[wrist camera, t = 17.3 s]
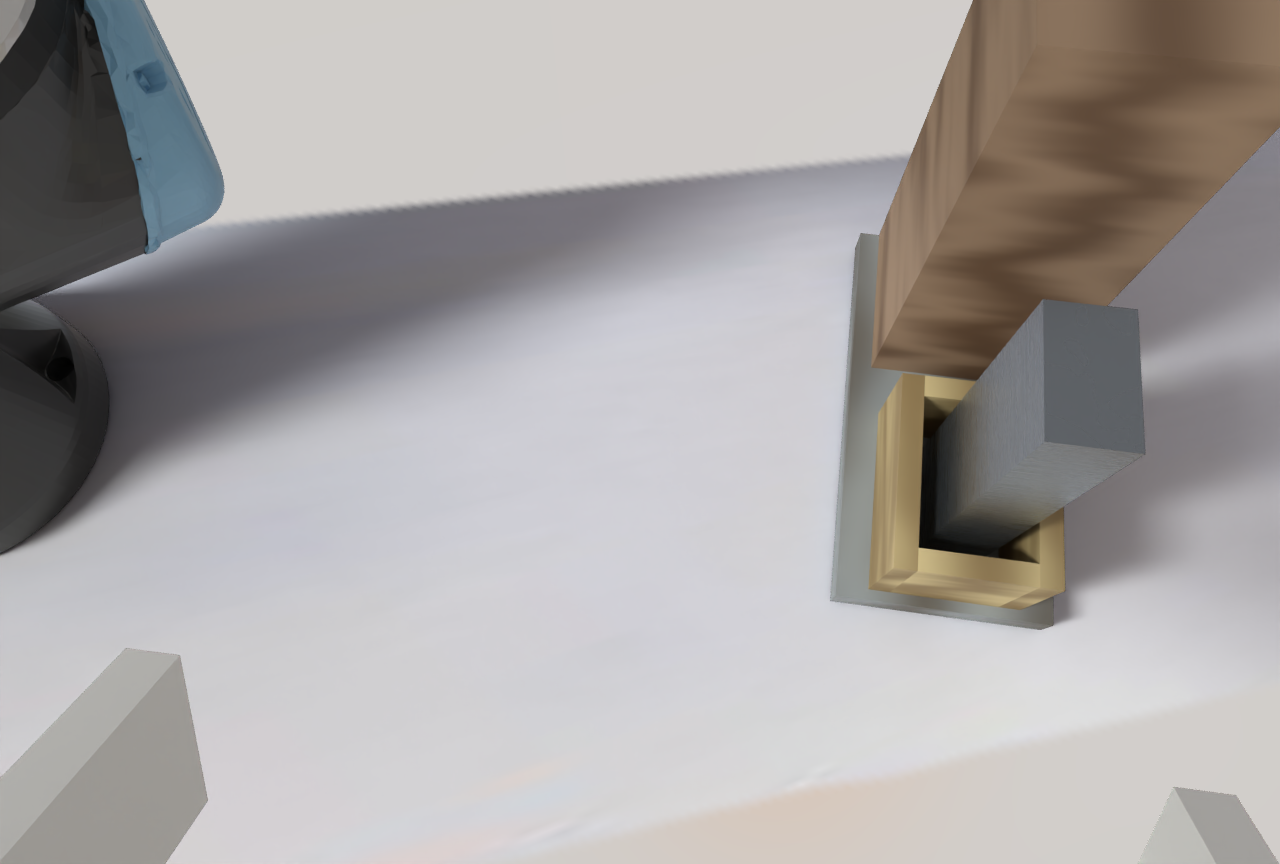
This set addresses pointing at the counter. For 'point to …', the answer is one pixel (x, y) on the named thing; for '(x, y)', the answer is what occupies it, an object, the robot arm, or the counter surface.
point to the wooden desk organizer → (1027, 248)
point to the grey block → (1035, 428)
